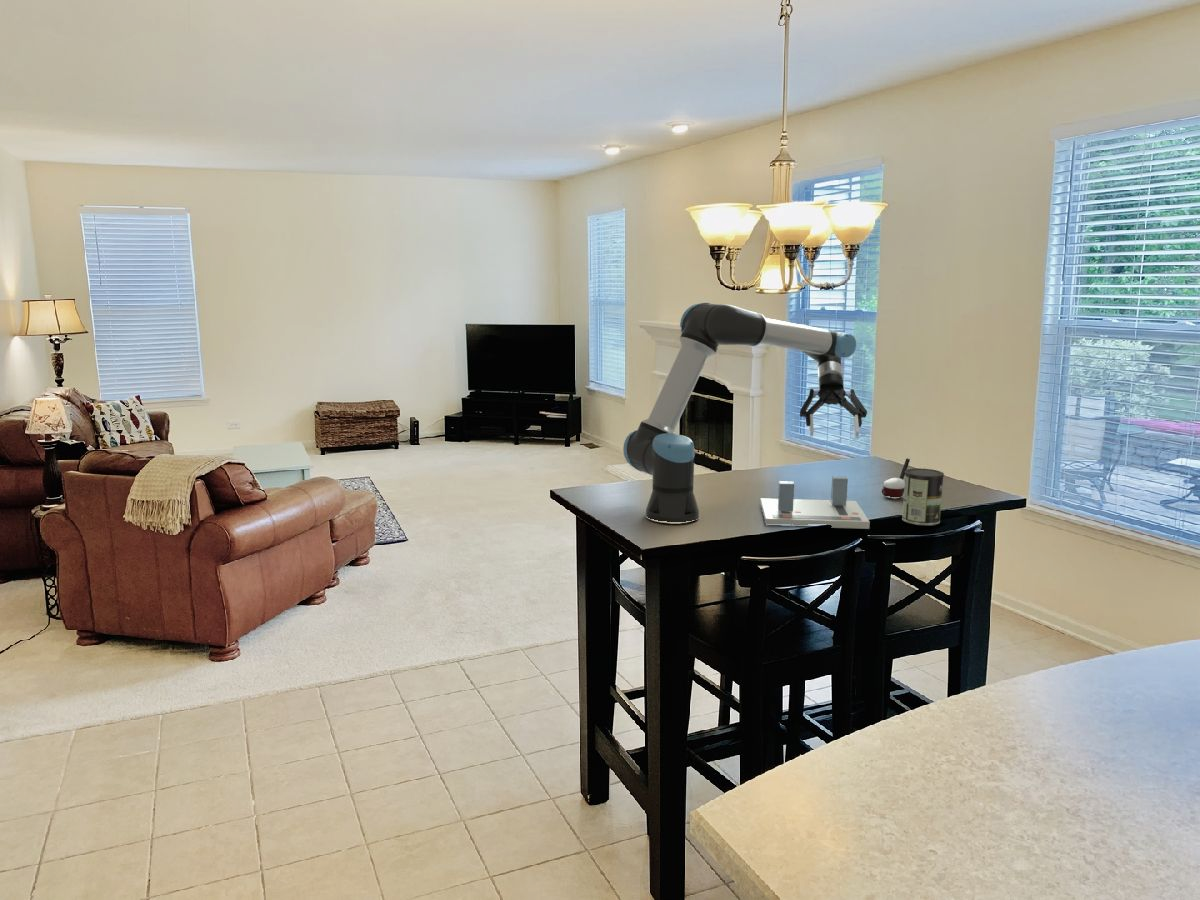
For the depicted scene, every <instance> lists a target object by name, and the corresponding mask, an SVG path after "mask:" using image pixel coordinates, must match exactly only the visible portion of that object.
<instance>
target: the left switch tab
mask: <svg viewBox="0 0 1200 900" xmlns="http://www.w3.org/2000/svg"><path fill="white" fill-rule="evenodd" d="M777 491H778V495H777V499H778V511H793V500H794V499H795V498H794V497H795V483H794V481H790V480H787V481H786V480H784V481H781V480H779V481H778V490H777Z"/></svg>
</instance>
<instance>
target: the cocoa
mask: <svg viewBox="0 0 1200 900" xmlns="http://www.w3.org/2000/svg"><path fill="white" fill-rule="evenodd" d="M910 462H911V458H908V457H907V458H906V459H905V461H904V464H903V467H902V470H901V473H900V476H899V477H891V478H889V479H886V480H885V481H884V482H883V487H882V489H881V494H882V495H883V496H884V497H885V496H890V497H901V496H902V497H904V486H905V470H908V467H909V465H910ZM902 497H901V498H902Z"/></svg>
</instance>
